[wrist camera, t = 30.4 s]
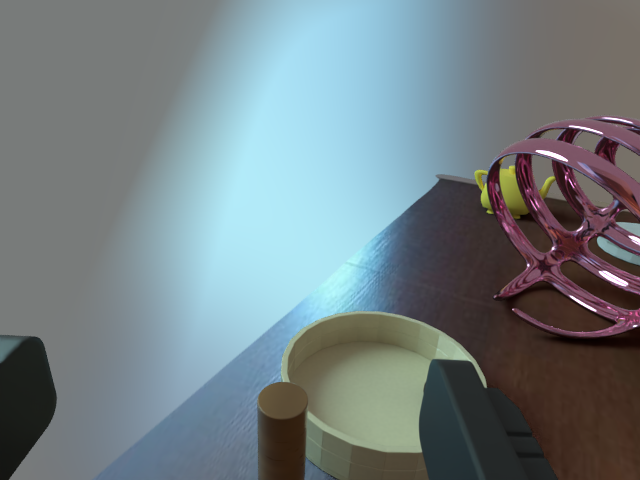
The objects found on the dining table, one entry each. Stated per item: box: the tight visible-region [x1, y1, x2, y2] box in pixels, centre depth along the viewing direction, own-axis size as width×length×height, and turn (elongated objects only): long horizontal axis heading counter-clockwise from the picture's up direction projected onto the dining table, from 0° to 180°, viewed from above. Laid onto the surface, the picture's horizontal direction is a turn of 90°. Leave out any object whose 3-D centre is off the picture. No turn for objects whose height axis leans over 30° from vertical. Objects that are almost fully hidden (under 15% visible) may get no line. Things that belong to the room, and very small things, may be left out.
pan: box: [281, 311, 487, 480], centre depth 42 cm, size 19×19×4 cm
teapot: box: [475, 166, 556, 219], centre depth 98 cm, size 18×11×11 cm, turn 62°
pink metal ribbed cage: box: [486, 115, 640, 339], centre depth 55 cm, size 28×28×27 cm
